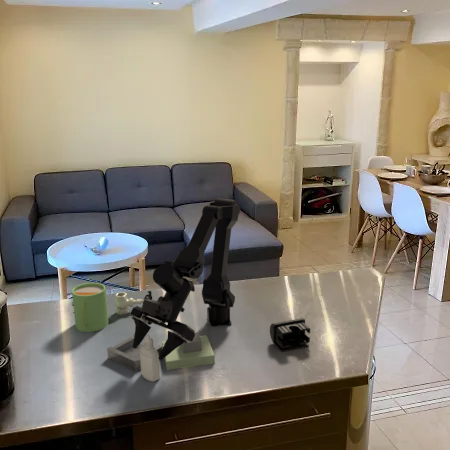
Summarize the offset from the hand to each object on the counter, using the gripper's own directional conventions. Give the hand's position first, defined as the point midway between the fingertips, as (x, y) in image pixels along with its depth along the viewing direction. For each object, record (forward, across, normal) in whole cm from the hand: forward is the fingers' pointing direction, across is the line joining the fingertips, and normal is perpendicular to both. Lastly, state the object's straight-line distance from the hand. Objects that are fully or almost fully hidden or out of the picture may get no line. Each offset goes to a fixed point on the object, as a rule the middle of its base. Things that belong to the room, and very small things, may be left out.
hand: (146, 353), depth 124 cm
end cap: (-21, +21, +31) cm, 43 cm away
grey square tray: (+1, -10, +9) cm, 14 cm away
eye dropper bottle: (+4, 0, +6) cm, 7 cm away
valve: (-12, -31, +23) cm, 41 cm away
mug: (-1, -35, +12) cm, 37 cm away
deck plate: (-5, +1, +15) cm, 16 cm away
